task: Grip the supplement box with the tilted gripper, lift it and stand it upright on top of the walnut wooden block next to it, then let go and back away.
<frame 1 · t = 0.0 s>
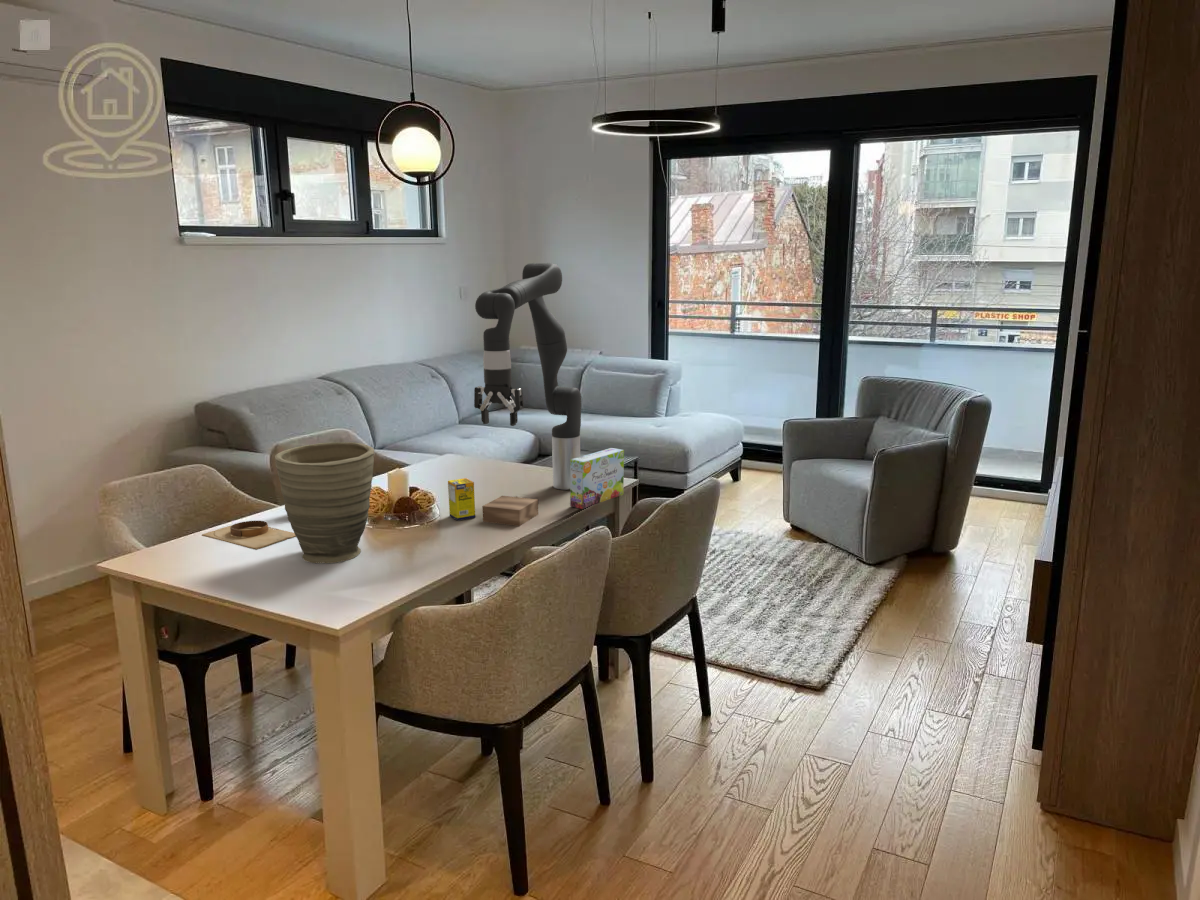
hand: (499, 424, 245), 29 cm above the table, tool pointing down, fingers open, 8 cm apart
walnut block: (511, 519, 258), on the table
skincare box: (314, 512, 266), on the table
board: (250, 537, 245), on the table
snack box: (597, 501, 275), on the table
supplement box: (462, 517, 259), on the table
vase: (333, 554, 229), on the table
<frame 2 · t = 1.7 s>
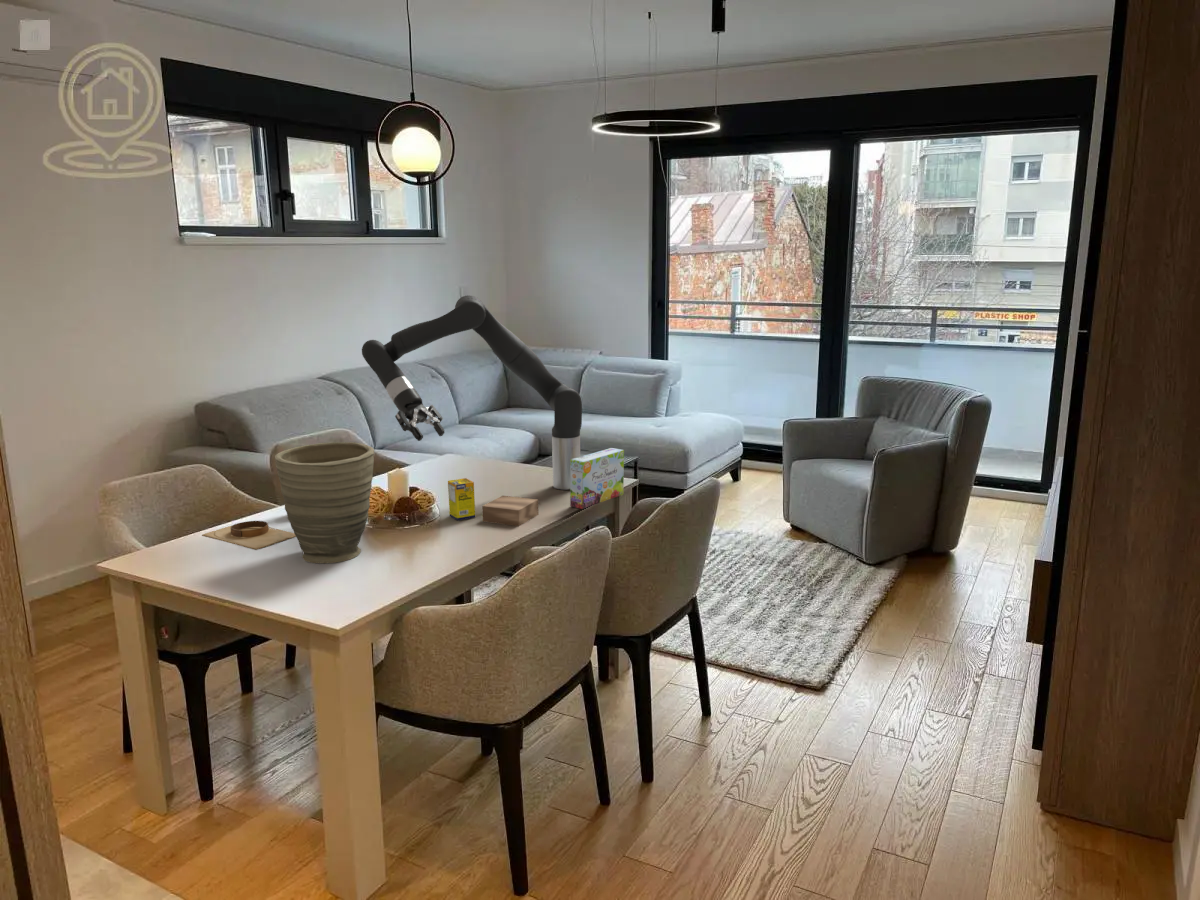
hand: (431, 436, 261), 23 cm above the table, tool tilted 45°, fingers open, 8 cm apart
nothing on the table moved.
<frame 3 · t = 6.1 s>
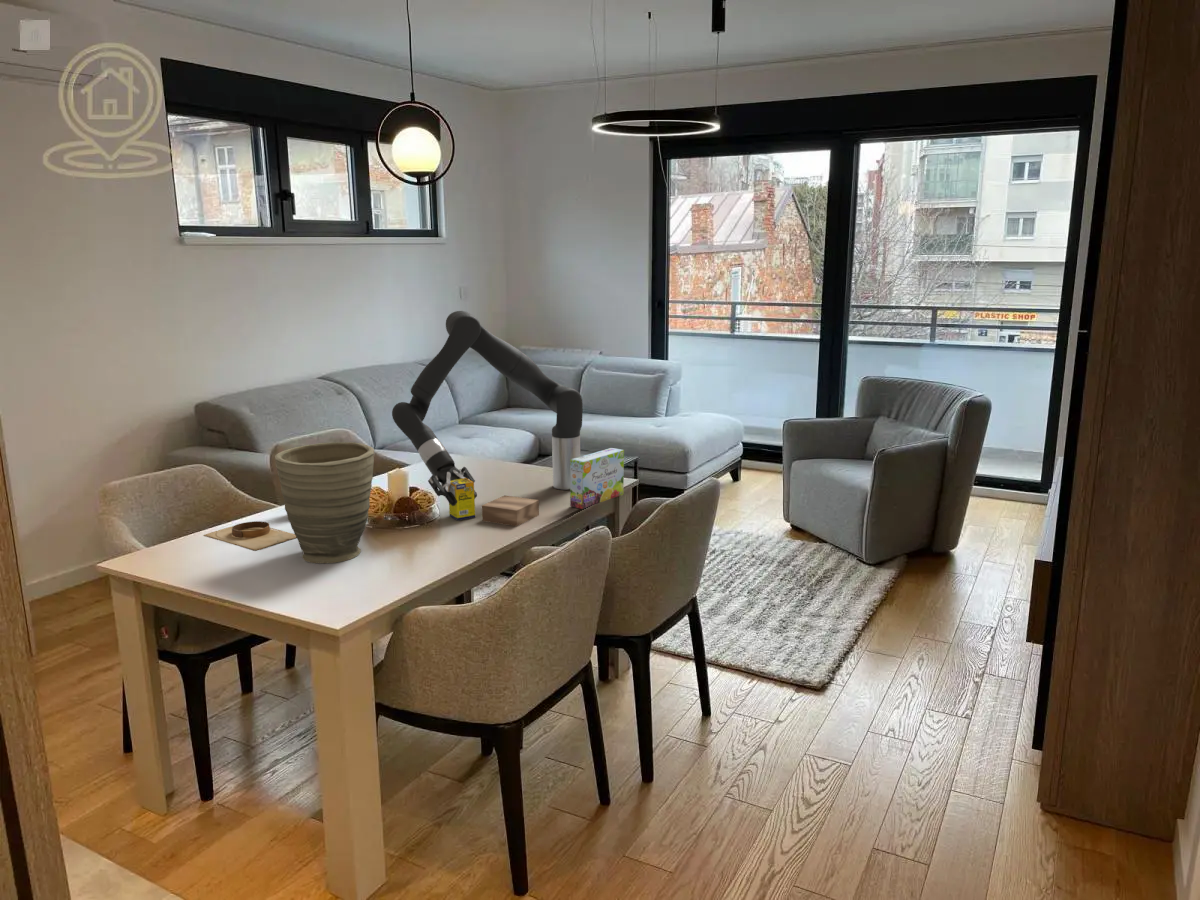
hand: (465, 501, 257), 5 cm above the table, tool tilted 45°, fingers closed on supplement box, 7 cm apart
supplement box: (462, 517, 259), on the table, touching gripper
when the fingers open (11 cm above the table, at t = 11.7 s): supplement box drops 2 cm, resting on walnut block.
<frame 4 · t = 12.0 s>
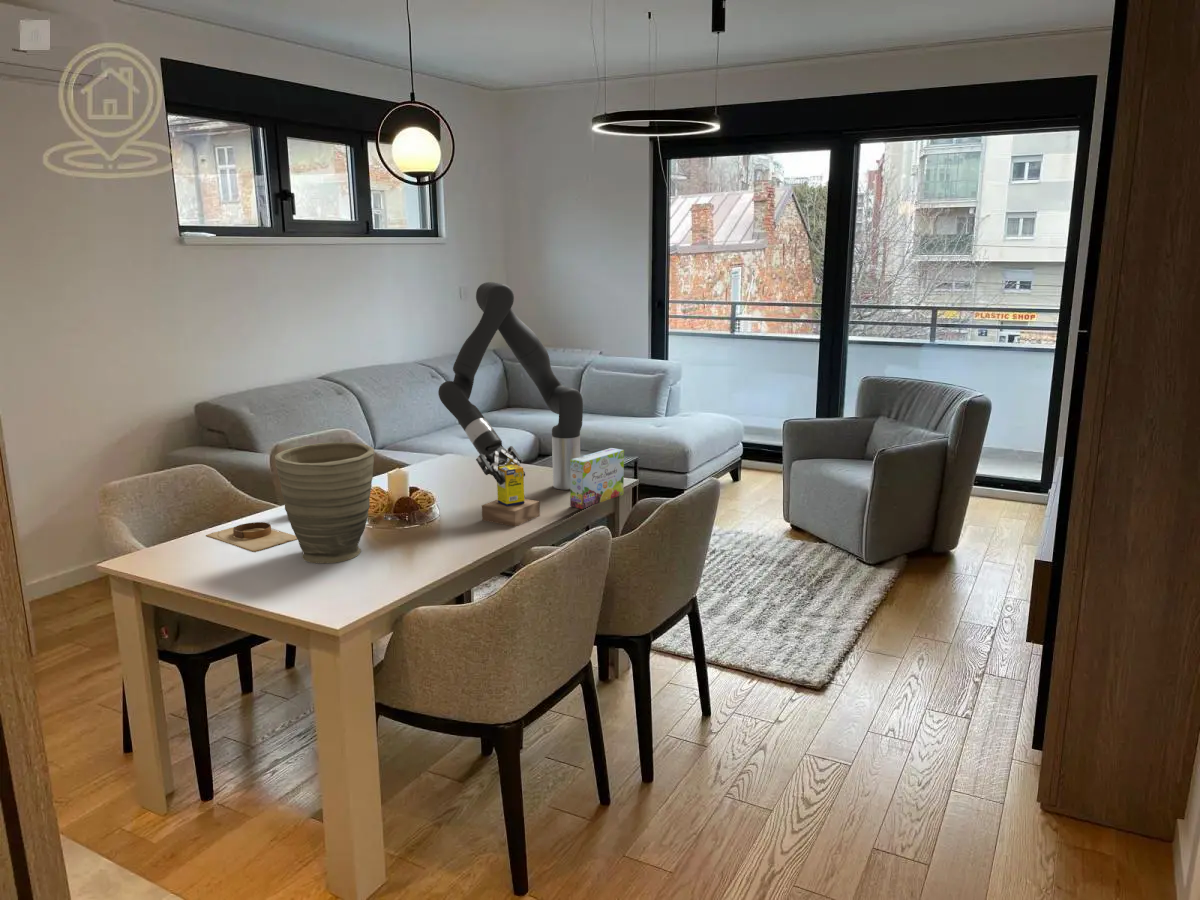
hand: (513, 480, 254), 12 cm above the table, tool tilted 45°, fingers open, 8 cm apart
walnut block: (511, 519, 258), on the table, touching supplement box
board: (253, 539, 243), on the table
supplement box: (511, 503, 257), point 4 cm above the table, touching walnut block
everything else where it was.
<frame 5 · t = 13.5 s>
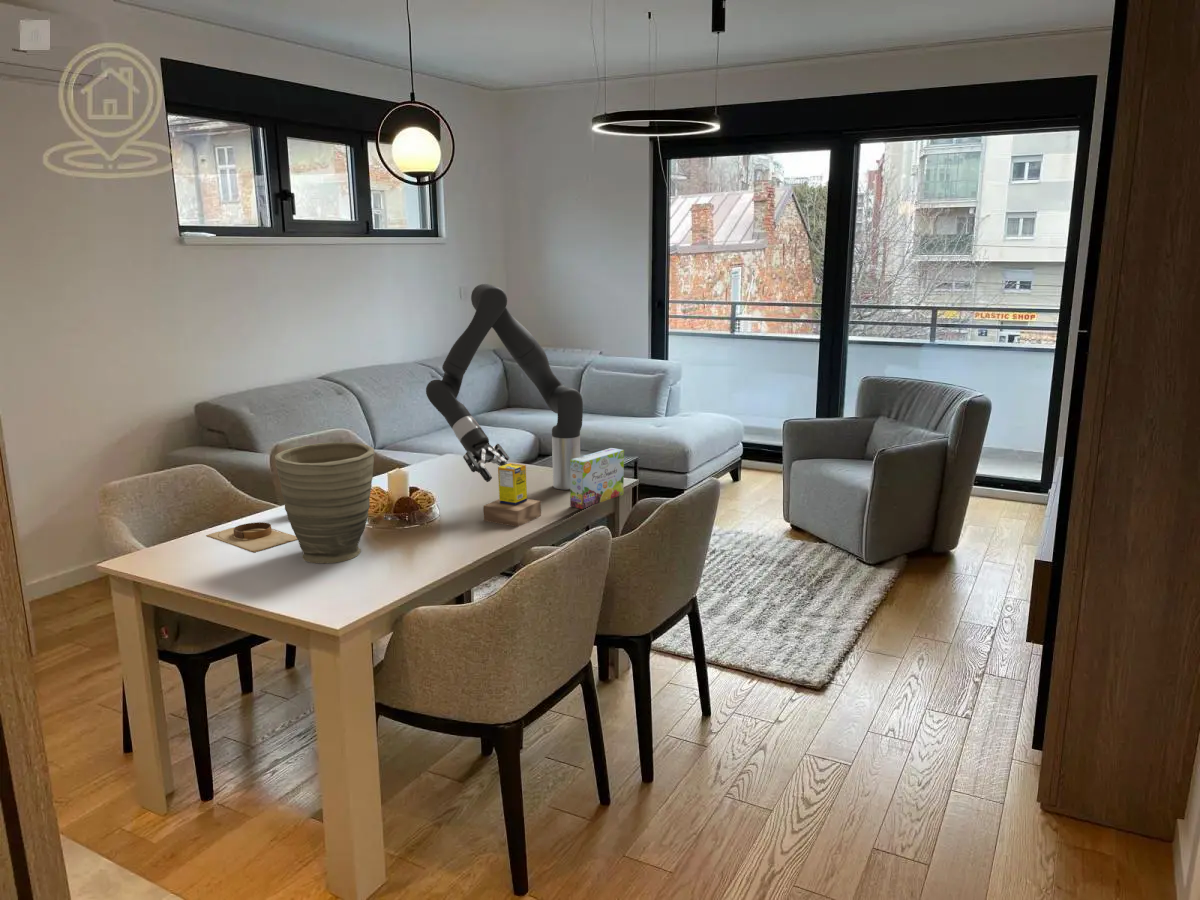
hand: (499, 477, 257), 12 cm above the table, tool tilted 45°, fingers open, 8 cm apart
supplement box: (513, 502, 258), point 4 cm above the table, touching walnut block
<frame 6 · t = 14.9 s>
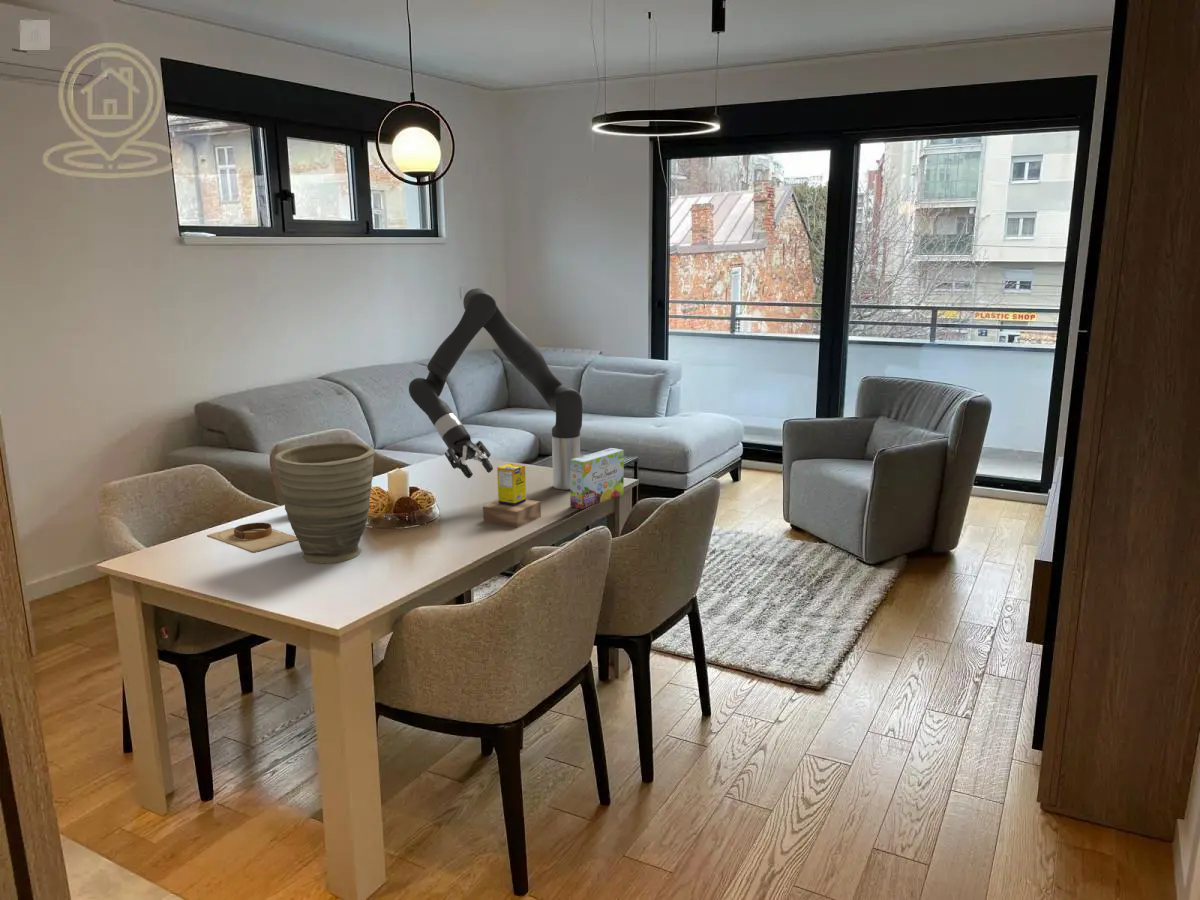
hand: (480, 473, 262), 12 cm above the table, tool tilted 45°, fingers open, 8 cm apart
walnut block: (512, 520, 257), on the table
supplement box: (512, 502, 257), point 4 cm above the table
everything else where it was.
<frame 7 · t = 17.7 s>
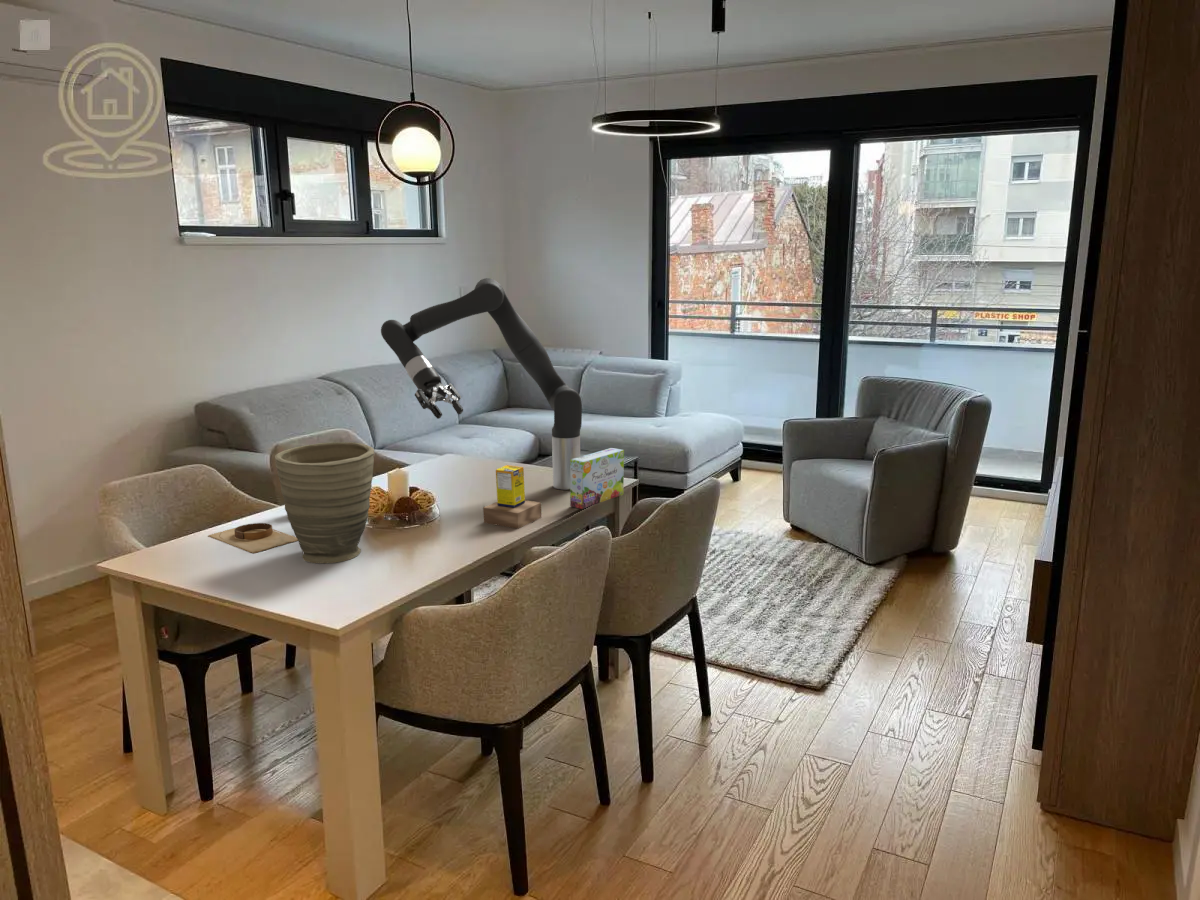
hand: (450, 414, 264), 29 cm above the table, tool tilted 45°, fingers open, 8 cm apart
walnut block: (512, 521, 256), on the table, touching supplement box
supplement box: (511, 504, 255), point 4 cm above the table, touching walnut block
at the end: supplement box inside the target area on the walnut block (0.8 cm from its centre), point 4.9 cm above the walnut block's base; supplement box tilted 1°; the gripper is holding nothing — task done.
